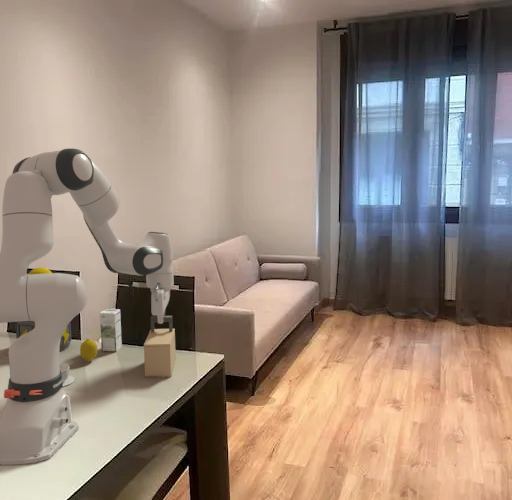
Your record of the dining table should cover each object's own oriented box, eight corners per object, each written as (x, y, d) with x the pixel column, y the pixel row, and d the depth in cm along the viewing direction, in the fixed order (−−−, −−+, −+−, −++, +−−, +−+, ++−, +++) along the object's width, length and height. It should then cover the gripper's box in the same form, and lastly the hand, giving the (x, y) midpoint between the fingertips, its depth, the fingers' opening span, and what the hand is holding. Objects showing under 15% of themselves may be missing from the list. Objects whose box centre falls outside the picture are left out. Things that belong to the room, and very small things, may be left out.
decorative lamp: (82, 342, 194) (78, 264, 190) (48, 358, 176) (43, 273, 172) (41, 337, 200) (36, 261, 195) (4, 353, 182) (-2, 270, 178)
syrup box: (122, 347, 188) (120, 308, 186) (116, 352, 182) (114, 312, 180) (107, 346, 189) (105, 308, 187) (101, 351, 183) (99, 312, 181)
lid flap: (170, 345, 158) (169, 327, 157) (143, 346, 157) (143, 327, 157) (174, 330, 174) (174, 313, 173) (151, 330, 173) (150, 313, 172)
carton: (171, 377, 159) (170, 346, 158) (145, 377, 159) (143, 346, 158) (175, 359, 175) (174, 330, 174) (152, 359, 175) (151, 331, 173)
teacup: (63, 390, 150) (62, 375, 149) (32, 388, 152) (31, 373, 151) (81, 377, 160) (80, 363, 159) (52, 375, 162) (51, 361, 161)
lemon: (94, 364, 171) (93, 341, 169) (78, 364, 171) (77, 341, 170) (100, 358, 176) (99, 336, 175) (84, 358, 176) (82, 336, 175)
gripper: (166, 287, 158) (167, 330, 160) (172, 274, 178) (173, 313, 180) (145, 287, 158) (147, 331, 159) (154, 275, 178) (155, 313, 180)
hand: (161, 321), depth 170 cm, fingers open, 2 cm apart
